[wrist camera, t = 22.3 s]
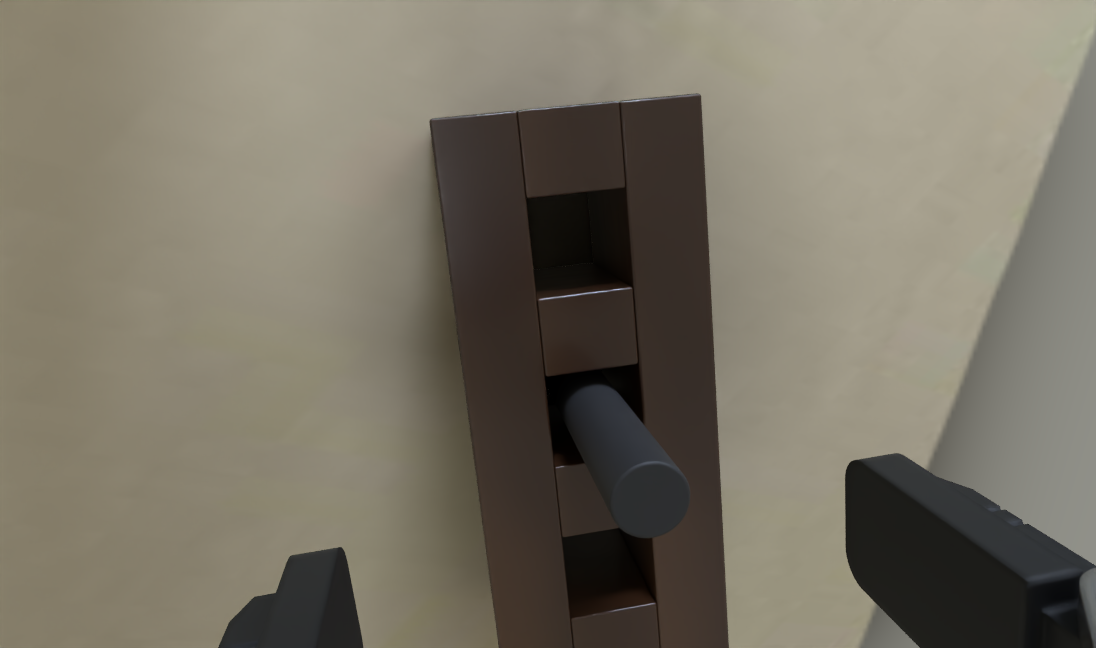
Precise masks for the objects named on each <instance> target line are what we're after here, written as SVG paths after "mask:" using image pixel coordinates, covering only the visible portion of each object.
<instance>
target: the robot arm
mask: <svg viewBox="0 0 1096 648" xmlns="http://www.w3.org/2000/svg"><path fill="white" fill-rule="evenodd" d="M845 510H846V554H847V559H848V563H849V566H850V569H851V571H852V574H853V576H854V578H855V580H856V581H857V583H858V584H859V586H860V587H861V588H862V589H863V590H864V591H865V592H866V593H867V594H868V595H869V596H870V598H871V599H872V600H873V601H874V602H875V603H876V604H877V605H878V606H879V607H880V608H881V609H883V611H884V612H885V613H886V614H887V615H888V616H889V617H890V618H891V619H892V620H893V621H894V622H895V623H896V624H897V625H898V626H899V627H900V628H901V629H902V630H903V631H904V632H905V633H906V634H907V635H908V636H909V637H910V638H911V639H912V640H913V641H914V642H915V643H916V644H917V645H918V646H919V647H920V648H1096V566H1095V565H1094V564H1092V563H1090V562H1089V561H1087V560H1085V559H1084V558H1082V557H1081V556H1079V555H1077V554H1076V553H1074V552H1073V551H1071V550H1069V549H1068V548H1066V547H1065V546H1063V545H1061V544H1060V543H1058V542H1057V541H1055V540H1053V539H1052V538H1050V537H1048V536H1047V535H1045V534H1043V533H1042V532H1040V531H1039V530H1037V529H1036V528H1034V527H1032V526H1031V525H1029V524H1025V525H1024V524H1023V522H1022V520H1021V519H1019V518H1018V517H1016V516H1015V515H1013V514H1011V513H1010V512H1008V511H1007V510H1001V509H1000V506H999V505H997V504H995V503H994V502H992V501H991V500H989V499H987V498H986V497H984V496H982V495H981V494H979V493H978V492H976V491H974V490H973V489H970V488H967V487H964V486H961V485H959V484H956V483H953V482H950V481H947V480H944V479H941V478H939V477H936V476H935V475H933V474H932V473H930V472H929V471H927V470H925V469H924V468H922V467H921V466H919V465H918V464H916V463H915V462H913V461H911V460H910V459H908V458H907V457H905V456H903V455H902V454H898V453H894V454H888V455H883V456H877V457H871V458H865V459H859V460H854V461H851V462H850V463H849V465H848V466H847V469H846V475H845ZM218 648H363V642H362V636H361V630H360V625H359V620H358V615H357V610H356V604H355V599H354V594H353V589H352V584H351V578H350V573H349V568H348V563H347V559H346V555H345V552H344V550H343V548H342V547H339V548H333V549H327V550H321V551H315V552H309V553H304V554H298V555H292V556H290V557H289V559H288V561H287V564H286V566H285V569H284V572H283V575H282V578H281V580H280V583H279V586H278V589H277V591H276V593H274V594H268V595H262V596H257V597H254V598H253V599H252V600H251V601H250V602H249V603H248V604H247V605H246V606H245V607H244V608H243V609H242V610H241V611H240V612H239V613H238V614H237V615H236V616H235V617H234V618H233V619H232V620H231V621H230V622H229V624H228V626H227V629H226V631H225V633H224V636H223V638H222V640H221V642H220V645H219V647H218Z"/></svg>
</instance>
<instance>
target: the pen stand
mask: <svg viewBox="0 0 1096 648" xmlns="http://www.w3.org/2000/svg"><path fill="white" fill-rule="evenodd" d="M430 130H431V137H432V145H433V152H434V160H435V168H436V175H437V183H438V190H439V198H440V205H441V213H442V221H443V228H444V236H445V243H446V251H447V258H448V266H449V274H450V281H451V289H452V296H453V304H454V311H455V319H456V327H457V334H458V342H459V349H460V357H461V364H462V372H463V380H464V387H465V395H466V402H467V410H468V417H469V425H470V432H471V440H472V448H473V455H474V463H475V470H476V478H477V485H478V493H479V501H480V508H481V516H482V523H483V531H484V538H485V546H486V554H487V561H488V569H489V576H490V584H491V591H492V599H493V607H494V614H495V622H496V629H497V637H498V644H499V648H729V642H728V622H727V603H726V583H725V563H724V543H723V523H722V503H721V483H720V463H719V443H718V423H717V404H716V384H715V364H714V344H713V324H712V304H711V284H710V264H709V244H708V224H707V204H706V185H705V165H704V145H703V125H702V105H701V95H700V94H687V95H676V96H666V97H655V98H645V99H634V100H624V101H620V102H618V101H612V102H602V103H591V104H581V105H570V106H559V107H549V108H538V109H528V110H519V111H517V112H516V111H507V112H497V113H486V114H476V115H465V116H455V117H444V118H434V119H431V120H430ZM583 192H587V195H588V207H589V219H590V230H591V242H592V253H593V263H591V262H590V263H582V264H574V265H566V266H557V267H549V268H541V269H533V259H532V250H531V240H530V231H529V221H528V212H527V202H526V198H538V197H547V196H556V195H565V194H574V193H583ZM599 369H603V375H604V376H605V377H606V378H607V380H608V381H609V382H610V383H611V385H612V386H613V387H614V388H615V390H616V391H617V392H618V393H619V395H620V396H621V397H622V398H623V400H624V401H625V402H626V403H627V405H628V406H629V407H630V408H631V409H632V411H633V412H634V413H635V414H636V416H637V417H638V418H639V419H640V421H641V422H642V423H643V424H644V426H645V427H646V428H647V429H648V431H649V432H650V433H651V434H652V436H653V437H654V438H655V439H656V441H657V442H658V443H659V444H660V446H661V447H662V448H663V449H664V451H665V452H666V453H667V454H668V456H669V457H670V458H671V459H672V461H673V462H674V463H675V464H676V466H677V467H678V468H679V469H680V471H681V472H682V473H683V474H684V476H685V477H686V479H687V481H688V484H689V488H690V503H689V507H688V510H687V513H686V515H685V516H684V518H683V519H682V521H681V522H680V523H679V524H678V525H677V526H676V527H675V528H674V529H673V530H671V531H670V532H668V533H666V534H664V535H661V536H659V537H654V538H639V537H635V536H632V535H630V534H627V533H626V532H624V531H623V530H621V529H620V528H619V527H618V526H617V525H616V523H615V522H614V520H613V518H612V516H611V514H610V512H609V510H608V508H607V506H606V504H605V502H604V500H603V498H602V496H601V494H600V492H599V490H598V488H597V486H596V484H595V482H594V480H593V478H592V476H591V474H590V472H589V470H588V468H587V466H586V464H585V462H584V460H583V458H582V456H581V454H580V452H579V450H578V448H577V446H576V444H575V442H574V440H573V438H572V436H571V434H570V432H569V430H568V428H567V426H566V424H565V422H564V420H563V418H562V416H561V414H560V412H559V410H558V408H557V406H556V404H553V405H548V401H547V392H546V382H545V376H547V377H549V376H556V375H563V374H570V373H577V372H584V371H591V370H599Z"/></svg>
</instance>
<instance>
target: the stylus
mask: <svg viewBox="0 0 1096 648" xmlns="http://www.w3.org/2000/svg"><path fill="white" fill-rule="evenodd" d="M545 382H546V386H547V388H548V390H549V392H550V394H551V396H552V398H553V400H554V402H555V404H556V406H557V408H558V410H559V412H560V414H561V416H562V418H563V420H564V422H565V424H566V426H567V428H568V430H569V432H570V434H571V436H572V438H573V440H574V442H575V444H576V446H577V448H578V450H579V452H580V454H581V456H582V458H583V460H584V462H585V464H586V466H587V468H588V470H589V472H590V474H591V476H592V478H593V480H594V482H595V484H596V486H597V488H598V490H599V492H600V494H601V496H602V498H603V500H604V502H605V504H606V506H607V508H608V510H609V512H610V514H611V516H612V518H613V520H614V522H615V523H616V525H617V526H618V527H619V528H620V529H621V530H623V531H624V532H626V533H627V534H630V535H632V536H635V537H639V538H654V537H659V536H661V535H664V534H666V533H668V532H670V531H671V530H673V529H674V528H675V527H676V526H677V525H678V524H679V523H680V522H681V521H682V519H683V518H684V516H685V515H686V513H687V510H688V507H689V503H690V488H689V484H688V481H687V479H686V477H685V476H684V474H683V473H682V472H681V471H680V469H679V468H678V467H677V466H676V464H675V463H674V462H673V461H672V459H671V458H670V457H669V456H668V454H667V453H666V452H665V451H664V449H663V448H662V447H661V446H660V444H659V443H658V442H657V441H656V439H655V438H654V437H653V436H652V434H651V433H650V432H649V431H648V429H647V428H646V427H645V426H644V424H643V423H642V422H641V421H640V419H639V418H638V417H637V416H636V414H635V413H634V412H633V411H632V409H631V408H630V407H629V406H628V405H627V403H626V402H625V401H624V400H623V398H622V397H621V396H620V395H619V393H618V392H617V391H616V390H615V388H614V387H613V386H612V385H611V383H610V382H609V381H608V380H607V378H606V377H605V376H604V375H603V373H602V372H601V371H600V370H591V371H584V372H577V373H570V374H563V375H556V376H549V377H547V376H545Z"/></svg>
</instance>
